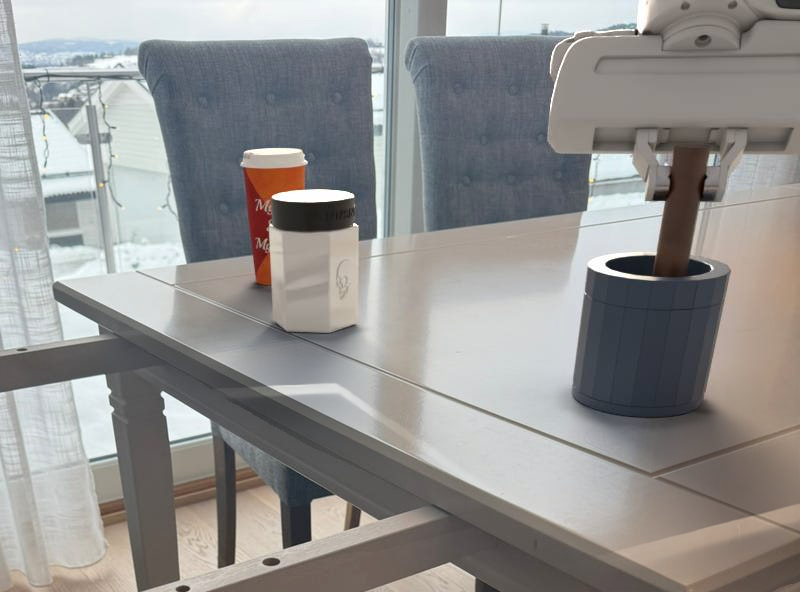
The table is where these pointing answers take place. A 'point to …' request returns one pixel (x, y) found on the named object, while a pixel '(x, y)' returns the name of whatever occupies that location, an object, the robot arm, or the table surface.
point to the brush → (681, 210)
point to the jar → (314, 260)
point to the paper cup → (268, 196)
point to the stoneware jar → (647, 335)
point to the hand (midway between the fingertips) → (684, 196)
